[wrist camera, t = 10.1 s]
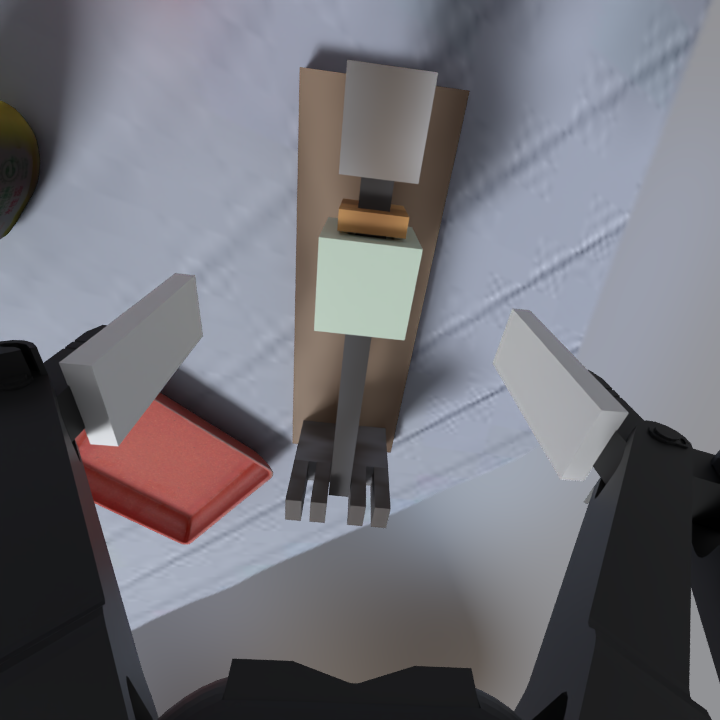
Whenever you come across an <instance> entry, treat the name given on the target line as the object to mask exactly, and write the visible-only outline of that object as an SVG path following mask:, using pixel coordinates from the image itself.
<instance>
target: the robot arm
mask: <svg viewBox="0 0 720 720" xmlns="http://www.w3.org/2000/svg"><path fill="white" fill-rule="evenodd" d="M202 336H203V333H202V325H201V318H200V310H199V303H198V295H197V288H196V280H195V275H186V274H177V273H175V274H174V275H172V276H171V277H170V278H169V279H167V280H166V281H165V282H163V283H162V284H161V285H159V286H158V287H157V288H155V289H154V290H153V291H152V292H150V293H149V294H148V295H146V296H145V297H144V298H142V299H141V300H140V301H139V302H137V303H136V304H135V305H133V306H132V307H131V308H129V309H128V310H127V311H126V312H124V313H123V314H122V315H120V316H119V317H118V318H116V319H115V320H114V321H113V322H111V323H110V324H109V325H102V326H99V327H97V328H94V329H92V330H89V331H87V332H85V333H84V334H82V335H81V336H80V337H78V338H77V339H76V340H75V342H72V343H70V344H69V345H67V346H66V347H65V349H62V350H61V351H59V352H58V353H57V354H55V355H54V356H52V357H51V358H50V359H48V360H47V361H46V362H44V363H43V361H42V359H41V356H40V354H39V352H38V349H37V347H36V346H35V345H34V344H33V343H31V342H28V341H23V340H10V341H1V342H0V720H712V719H711V717H710V716H709V714H708V712H707V710H705V709H704V708H703V707H702V706H700V705H699V704H697V703H696V702H695V701H693V700H692V699H691V697H690V691H689V666H690V664H689V663H690V662H689V661H690V660H689V659H690V608H691V588H692V591H693V595H694V598H695V601H696V605H697V608H698V612H699V615H700V618H701V622H702V625H703V628H704V632H705V635H706V638H707V641H708V645H709V648H710V652H711V655H712V658H713V662H714V665H715V668H716V671H717V675H718V678H719V682H720V450H719V451H718V453H717V454H716V455H713V454H710V453H706V452H703V451H699V450H696V449H693V448H692V445H691V443H690V442H689V441H688V440H687V439H686V438H685V437H684V436H683V435H681V434H680V433H678V432H677V431H675V430H673V429H671V428H669V427H668V426H666V425H662V424H660V423H657V422H653V421H644V420H643V419H642V418H641V417H640V416H639V415H638V414H637V413H636V412H635V411H634V410H633V409H632V408H631V407H630V406H629V405H628V404H627V403H626V402H625V401H624V400H623V399H622V398H620V397H619V395H618V394H617V393H616V392H615V391H614V390H612V388H611V387H610V386H609V385H608V384H607V383H606V382H605V381H604V380H603V379H602V378H601V377H599V376H597V375H596V374H594V373H593V372H591V371H589V370H587V369H586V368H585V367H584V366H583V365H582V364H581V363H580V362H579V361H578V360H577V359H576V358H575V357H574V355H573V354H572V353H571V352H570V351H569V350H568V349H567V348H566V347H565V346H564V345H563V344H562V343H561V342H560V341H559V340H558V339H557V338H556V337H555V336H554V335H553V334H552V333H551V332H550V331H549V330H548V329H547V328H546V326H545V325H544V324H543V323H542V322H541V321H540V320H539V319H538V318H537V317H536V316H535V315H534V314H533V313H532V312H531V311H530V310H522V309H512V311H511V314H510V317H509V319H508V322H507V325H506V328H505V331H504V333H503V336H502V339H501V342H500V344H499V347H498V350H497V353H496V355H495V358H494V361H493V365H494V366H495V368H496V370H497V372H498V373H499V375H500V377H501V378H502V380H503V382H504V384H505V385H506V387H507V389H508V390H509V392H510V394H511V396H512V397H513V399H514V401H515V402H516V404H517V406H518V408H519V409H520V411H521V413H522V415H523V416H524V418H525V420H526V421H527V423H528V425H529V427H530V428H531V430H532V432H533V433H534V435H535V437H536V439H537V440H538V442H539V444H540V445H541V447H542V449H543V451H544V452H545V454H546V456H547V457H548V459H549V461H550V463H551V464H552V466H553V468H554V469H555V471H556V473H557V475H558V476H559V478H560V479H562V480H575V481H584V480H585V479H586V478H587V476H588V474H589V473H590V471H591V470H592V468H593V467H594V468H595V470H596V471H597V473H598V474H599V475H600V477H601V478H600V479H599V480H598V482H597V483H596V485H595V486H594V488H593V489H592V491H591V492H590V494H589V495H588V496H587V498H586V499H585V501H584V502H585V503H586V504H588V503H589V505H588V508H587V511H586V514H585V517H584V519H583V522H582V525H581V528H580V532H579V534H578V538H577V540H576V543H575V546H574V549H573V552H572V555H571V558H570V561H569V564H568V567H567V570H566V573H565V576H564V579H563V582H562V586H561V589H560V591H559V595H558V597H557V600H556V603H555V606H554V609H553V612H552V615H551V618H550V622H549V624H548V627H547V630H546V633H545V636H544V639H543V642H542V645H541V648H540V651H539V654H538V657H537V660H536V663H535V666H534V669H533V672H532V675H531V678H530V681H529V683H528V686H527V688H526V690H525V693H524V694H523V696H522V698H521V700H520V701H519V703H518V705H517V707H516V709H515V711H512V710H511V709H510V708H509V707H507V706H506V705H505V704H503V703H502V702H500V701H499V700H498V699H496V698H494V697H493V696H491V695H489V694H487V693H485V692H483V691H482V690H479V689H477V688H475V684H474V680H473V674H472V670H471V668H450V667H425V666H413V667H410V668H407V669H404V670H401V671H397V672H394V673H391V674H387V675H384V676H381V677H378V678H375V679H371V680H368V681H365V682H362V683H358V684H353V683H348V682H346V681H343V680H341V679H338V678H335V677H332V676H330V675H328V674H325V673H322V672H320V671H317V670H315V669H312V668H309V667H307V666H304V665H302V664H299V663H296V662H294V661H277V660H252V659H232V663H231V667H230V672H229V676H228V677H227V678H223V679H220V680H217V681H215V682H212V683H210V684H208V685H206V686H203V687H201V688H199V689H198V690H196V691H194V692H193V693H191V694H189V695H188V696H186V697H184V698H183V699H182V700H181V701H179V702H178V703H176V704H175V705H174V706H172V707H171V708H170V709H168V710H167V711H166V712H165V713H164V714H163V715H162V716H161V717H160V718H158V714H157V711H156V708H155V705H154V702H153V699H152V696H151V693H150V691H149V688H148V685H147V683H146V680H145V677H144V674H143V671H142V668H141V665H140V661H139V658H138V654H137V651H136V647H135V643H134V640H133V637H132V633H131V629H130V626H129V623H128V619H127V616H126V612H125V609H124V605H123V602H122V598H121V595H120V591H119V588H118V584H117V581H116V577H115V574H114V570H113V567H112V563H111V560H110V556H109V553H108V549H107V546H106V542H105V539H104V535H103V532H102V528H101V525H100V521H99V518H98V514H97V511H96V507H95V504H94V500H93V497H92V493H91V490H90V486H89V483H88V479H87V476H86V472H85V469H84V465H83V462H82V458H81V455H80V451H79V448H78V445H77V443H76V441H75V438H76V437H77V436H78V435H79V434H80V433H81V432H82V431H83V430H84V429H85V431H86V434H87V437H88V439H89V442H90V444H94V445H107V446H119V445H120V444H121V442H122V441H123V440H124V438H125V437H126V436H127V434H128V433H129V432H130V431H131V429H132V428H133V427H134V425H135V424H136V423H137V421H138V420H139V419H140V417H141V416H142V415H143V414H144V412H145V411H146V410H147V408H148V407H149V406H150V404H151V403H152V402H153V401H154V399H155V398H156V397H157V395H158V394H159V393H160V391H161V390H162V389H163V387H164V386H165V385H166V384H167V382H168V381H169V380H170V378H171V377H172V376H173V374H174V373H175V372H176V370H177V369H178V368H179V367H180V365H181V364H182V363H183V361H184V360H185V359H186V357H187V356H188V355H189V353H190V352H191V351H192V350H193V348H194V347H195V346H196V344H197V343H198V342H199V340H200V339H201V338H202Z"/></svg>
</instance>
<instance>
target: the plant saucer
mask: <svg viewBox="0 0 720 720" xmlns="http://www.w3.org/2000/svg"><path fill="white" fill-rule="evenodd" d="M75 441H76V443H77V445H78V448H79V451H80V455H81V458H82V462H83V465H84V469H85V472H86V476H87V479H88V483H89V486H90V490H91V493H92V497H93V500H94V503H96V504H98V505H100V506H102V507H104V508H106V509H108V510H110V511H112V512H114V513H117V514H119V515H121V516H123V517H125V518H127V519H129V520H131V521H133V522H136V523H138V524H140V525H142V526H144V527H146V528H149V529H151V530H153V531H155V532H157V533H159V534H161V535H163V536H165V537H168V538H170V539H172V540H174V541H176V542H178V543H181V544H190V543H192V542H193V541H194V540H195V539H197V538H198V537H199V536H200V535H202V534H203V533H204V532H205V531H206V530H208V529H209V528H210V527H211V526H212V525H214V524H215V523H216V522H218V521H219V520H220V519H221V518H222V517H224V516H225V515H226V514H227V513H228V512H230V511H231V510H232V509H234V508H235V507H236V506H237V505H238V504H240V503H241V502H242V501H243V500H244V499H246V498H247V497H248V496H250V495H251V494H252V493H253V492H254V491H256V490H257V489H258V488H259V487H261V486H262V485H263V484H264V483H265V482H267V481H268V480H269V479H270V478H271V477H272V476H273V471H272V469H271V468H270V466H269V465H268V464H267V462H266V461H265V460H264V459H263V458H262V457H261V456H260V455H259V454H258V453H256V452H255V451H254V450H252V449H251V448H249V447H247V446H246V445H244V444H243V443H241V442H239V441H238V440H236V439H234V438H233V437H231V436H230V435H228V434H226V433H225V432H223V431H221V430H220V429H218V428H217V427H215V426H213V425H212V424H210V423H209V422H207V421H205V420H204V419H202V418H200V417H199V416H197V415H196V414H194V413H192V412H191V411H189V410H187V409H186V408H184V407H183V406H181V405H179V404H178V403H176V402H175V401H173V400H171V399H170V398H168V397H167V396H165V395H163V394H162V393H159V394H158V395H157V397H156V398H155V399H154V401H153V402H152V403H151V404H150V406H149V407H148V408H147V410H146V411H145V412H144V414H143V415H142V416H141V417H140V419H139V420H138V421H137V423H136V424H135V425H134V427H133V428H132V429H131V431H130V432H129V433H128V434H127V436H126V437H125V438H124V440H123V441H122V442H121V444H120V445H119V446H107V445H94V444H90V442H89V439H88V437H87V434H86V431H85V429H84V430H83V431H82V432H81V433H80V434H79V435H78V436H77V437H76V438H75Z"/></svg>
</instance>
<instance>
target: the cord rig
mask: <svg viewBox="0 0 720 720" xmlns="http://www.w3.org/2000/svg"><path fill="white" fill-rule="evenodd" d="M437 76H438V72H431V71H424V70H417V69H410V68H403V67H396V66H388V65H381V64H374V63H367V62H360V61H353V60H347V69H346V73H339V72H332V71H324V70H317V69H310V68H303V67H300V83H299V135H298V187H297V239H296V291H295V343H294V394H293V444H298V447H297V451H296V455H295V460H294V464H293V469H292V473H291V478H290V482H289V487H288V491H287V495H286V500H285V520H297V521H301V516H302V510H303V504H304V498H305V493H306V487H307V481H308V480H314V484H313V490H312V497H311V505H310V521H309V522H321V523H325V515H326V505H327V496H328V487H329V482H330V488H329V495H334V496H346V497H348V495H349V499H348V519H347V525H356V526H362V524H363V519H364V514H365V508H366V485H370V486H371V527H381V528H386V525H387V521H388V517H389V513H390V493H389V477H388V461H387V452H390V453H391V448H392V444H393V439H394V435H395V430H396V425H397V421H398V416H399V412H400V407H401V403H402V398H403V393H404V389H405V384H406V380H407V375H408V371H409V366H410V361H411V357H412V352H413V348H414V343H415V338H416V334H417V329H418V325H419V320H420V316H421V311H422V306H423V302H424V297H425V293H426V288H427V284H428V279H429V274H430V270H431V265H432V261H433V256H434V252H435V247H436V242H437V238H438V233H439V229H440V224H441V220H442V215H443V210H444V206H445V201H446V197H447V192H448V187H449V183H450V178H451V174H452V169H453V165H454V160H455V155H456V151H457V146H458V142H459V137H460V133H461V128H462V123H463V119H464V114H465V110H466V105H467V101H468V96H469V91H468V90H461V89H454V88H447V87H439V86H436V82H437ZM328 217H332V218H338V226H337V231H345V232H354V233H355V235H359V236H368V237H376V238H384V239H386V236H387V237H395V238H404V239H406V234H407V229H408V227H412V228H413V230H414V232H415V234H416V236H417V238H418V241H419V243H420V245H421V247H422V249H423V251H422V256H421V261H420V266H419V271H418V276H417V281H416V286H415V291H414V296H413V301H412V306H411V311H410V316H409V321H408V326H407V331H406V336H405V340H395V339H386V338H377V337H368V336H358V335H349V334H340V333H330V332H321V331H314V322H315V302H316V282H317V262H318V243H319V236H320V234H321V231H322V229H323V227H324V225H325V223H326V221H327V219H328Z"/></svg>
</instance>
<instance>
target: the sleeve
mask: <svg viewBox="0 0 720 720" xmlns="http://www.w3.org/2000/svg"><path fill="white" fill-rule="evenodd" d="M337 226H338V218H332V217H328V219H327V221H326V223H325V225H324V227H323V229H322V231H321V234H320V236H319V243H318V262H317V282H316V302H315V322H314V331H321V332H330V333H340V334H349V335H358V336H368V337H377V338H386V339H395V340H405V336H406V331H407V326H408V321H409V316H410V311H411V306H412V301H413V296H414V291H415V286H416V281H417V276H418V271H419V266H420V261H421V256H422V251H423V249H422V247H421V245H420V243H419V241H418V238H417V236H416V234H415V232H414V230H413V228H412V227H408V229H407V234H406V239H404V238H395V237H387V236H386V239H384V238H376V237H368V236H359V235H355V233H354V232H345V231H337Z"/></svg>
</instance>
